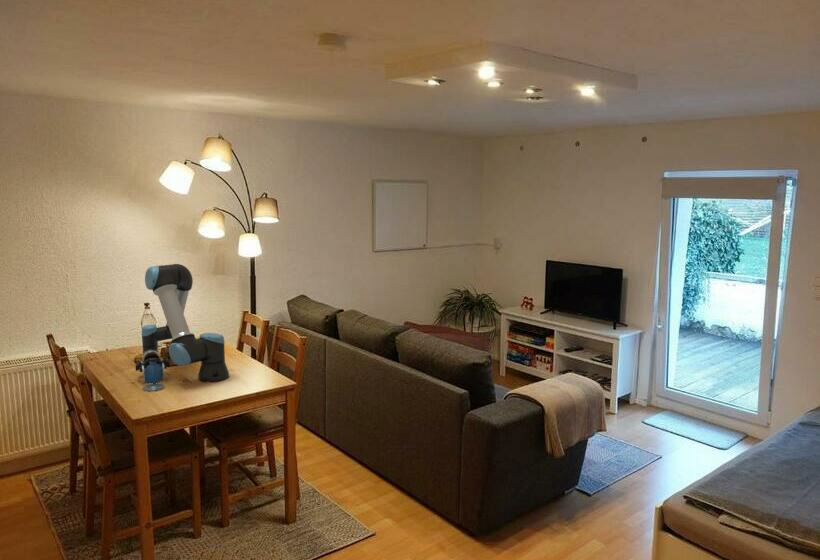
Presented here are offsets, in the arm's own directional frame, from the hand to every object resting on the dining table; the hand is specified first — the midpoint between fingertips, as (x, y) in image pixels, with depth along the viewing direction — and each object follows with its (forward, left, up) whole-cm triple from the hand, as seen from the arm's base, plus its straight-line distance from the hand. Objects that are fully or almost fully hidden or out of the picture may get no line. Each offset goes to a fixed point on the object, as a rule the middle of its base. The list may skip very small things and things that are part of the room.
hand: (153, 370), depth 293 cm
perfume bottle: (+3, -3, -7) cm, 9 cm away
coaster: (-4, +5, -7) cm, 9 cm away
